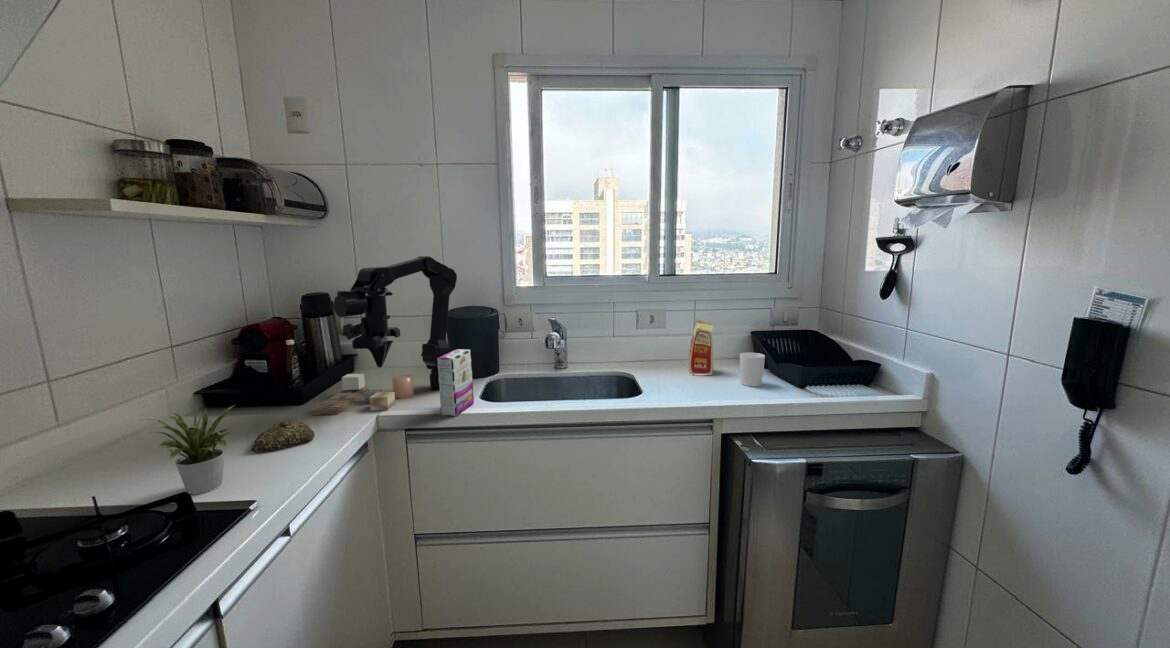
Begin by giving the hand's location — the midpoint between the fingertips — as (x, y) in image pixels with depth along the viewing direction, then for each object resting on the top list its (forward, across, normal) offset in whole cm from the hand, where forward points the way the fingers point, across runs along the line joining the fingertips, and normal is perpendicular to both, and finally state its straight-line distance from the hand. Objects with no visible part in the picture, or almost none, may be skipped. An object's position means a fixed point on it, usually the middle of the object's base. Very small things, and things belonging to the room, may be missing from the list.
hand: (380, 367), depth 127 cm
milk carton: (+12, -32, +103) cm, 109 cm away
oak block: (+12, 0, 0) cm, 12 cm away
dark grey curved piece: (+12, -6, -5) cm, 14 cm away
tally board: (+12, -5, -14) cm, 19 cm away
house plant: (+12, +45, -17) cm, 50 cm away
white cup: (+12, -16, +115) cm, 117 cm away
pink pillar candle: (+12, -11, +2) cm, 16 cm away
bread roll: (+12, +22, -15) cm, 29 cm away
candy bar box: (+12, +3, +22) cm, 25 cm away
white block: (+10, -13, -14) cm, 21 cm away
